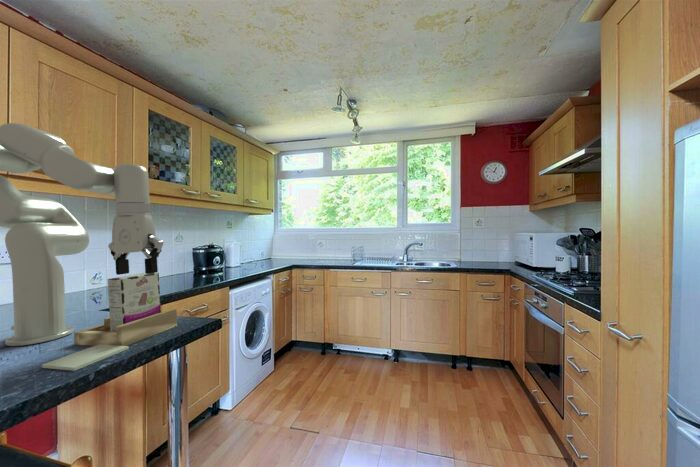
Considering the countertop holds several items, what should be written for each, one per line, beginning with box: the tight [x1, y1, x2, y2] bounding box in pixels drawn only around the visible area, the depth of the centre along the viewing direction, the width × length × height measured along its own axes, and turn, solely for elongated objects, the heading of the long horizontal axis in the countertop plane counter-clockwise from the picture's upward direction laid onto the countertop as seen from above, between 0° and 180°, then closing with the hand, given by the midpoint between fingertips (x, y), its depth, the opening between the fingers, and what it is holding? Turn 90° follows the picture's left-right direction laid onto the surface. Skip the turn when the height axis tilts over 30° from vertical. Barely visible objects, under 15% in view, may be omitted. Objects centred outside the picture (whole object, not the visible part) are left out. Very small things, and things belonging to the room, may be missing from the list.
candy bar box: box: [107, 272, 162, 332], centre depth 78 cm, size 11×5×16 cm, turn 168°
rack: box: [73, 308, 178, 347], centre depth 78 cm, size 15×16×5 cm
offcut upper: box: [103, 316, 110, 328], centre depth 79 cm, size 4×6×2 cm, turn 179°
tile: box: [41, 344, 130, 372], centre depth 63 cm, size 9×11×1 cm
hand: (137, 273), depth 78 cm, fingers open, 9 cm apart
